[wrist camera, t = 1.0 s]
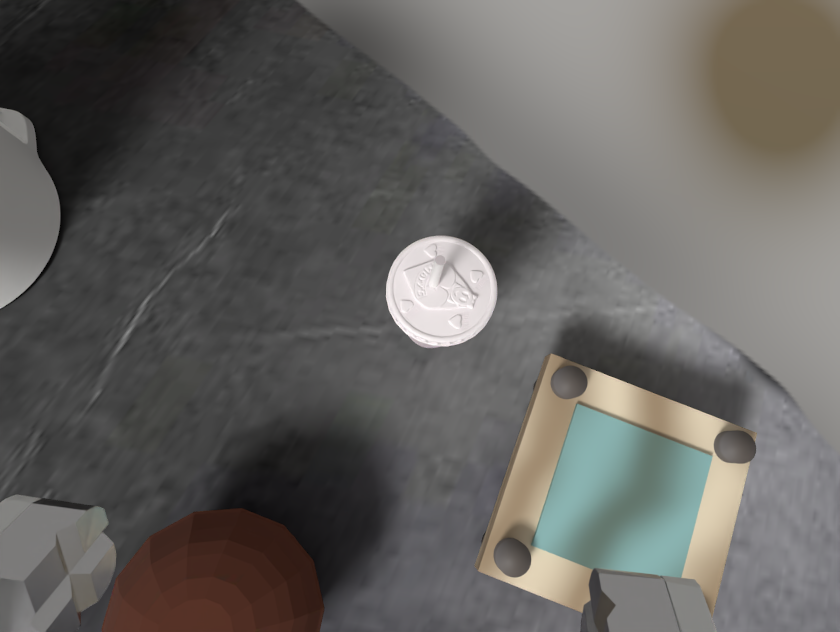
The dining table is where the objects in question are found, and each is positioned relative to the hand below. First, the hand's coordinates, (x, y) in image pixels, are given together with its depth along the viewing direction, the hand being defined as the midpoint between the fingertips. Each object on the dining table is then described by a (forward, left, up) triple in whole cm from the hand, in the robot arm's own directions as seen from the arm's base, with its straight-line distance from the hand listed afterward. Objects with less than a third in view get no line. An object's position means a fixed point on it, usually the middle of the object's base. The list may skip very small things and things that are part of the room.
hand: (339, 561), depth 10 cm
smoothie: (0, +11, -31) cm, 33 cm away
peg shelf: (+15, +4, -31) cm, 35 cm away
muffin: (-5, -10, -31) cm, 33 cm away
